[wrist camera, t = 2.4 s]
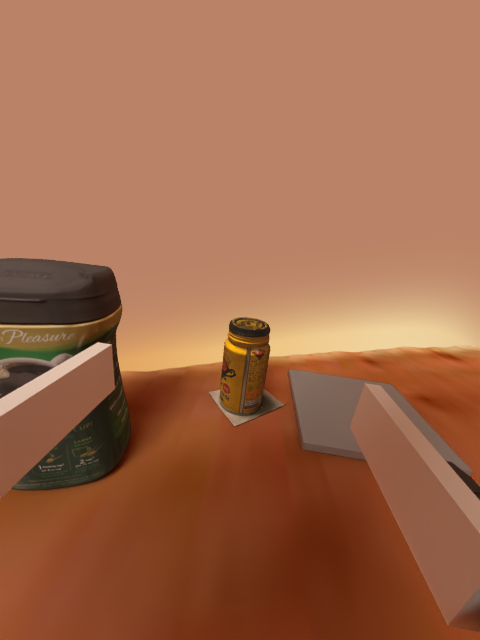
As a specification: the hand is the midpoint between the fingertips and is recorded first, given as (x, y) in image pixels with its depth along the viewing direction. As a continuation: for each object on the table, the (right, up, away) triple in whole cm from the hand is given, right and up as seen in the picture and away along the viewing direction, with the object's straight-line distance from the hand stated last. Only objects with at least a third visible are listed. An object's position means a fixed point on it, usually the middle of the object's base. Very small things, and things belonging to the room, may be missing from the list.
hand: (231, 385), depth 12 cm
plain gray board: (+17, -10, +21) cm, 29 cm away
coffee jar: (-16, -10, +10) cm, 21 cm away
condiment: (+1, -8, +21) cm, 22 cm away
